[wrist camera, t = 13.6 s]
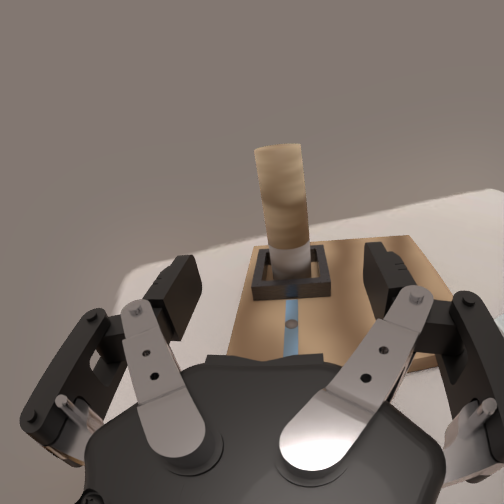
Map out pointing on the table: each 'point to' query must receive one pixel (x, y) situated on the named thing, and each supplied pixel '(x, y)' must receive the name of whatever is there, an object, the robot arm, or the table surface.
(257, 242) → the table surface
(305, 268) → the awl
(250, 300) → the board
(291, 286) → the pilot collar
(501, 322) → the hard drive
